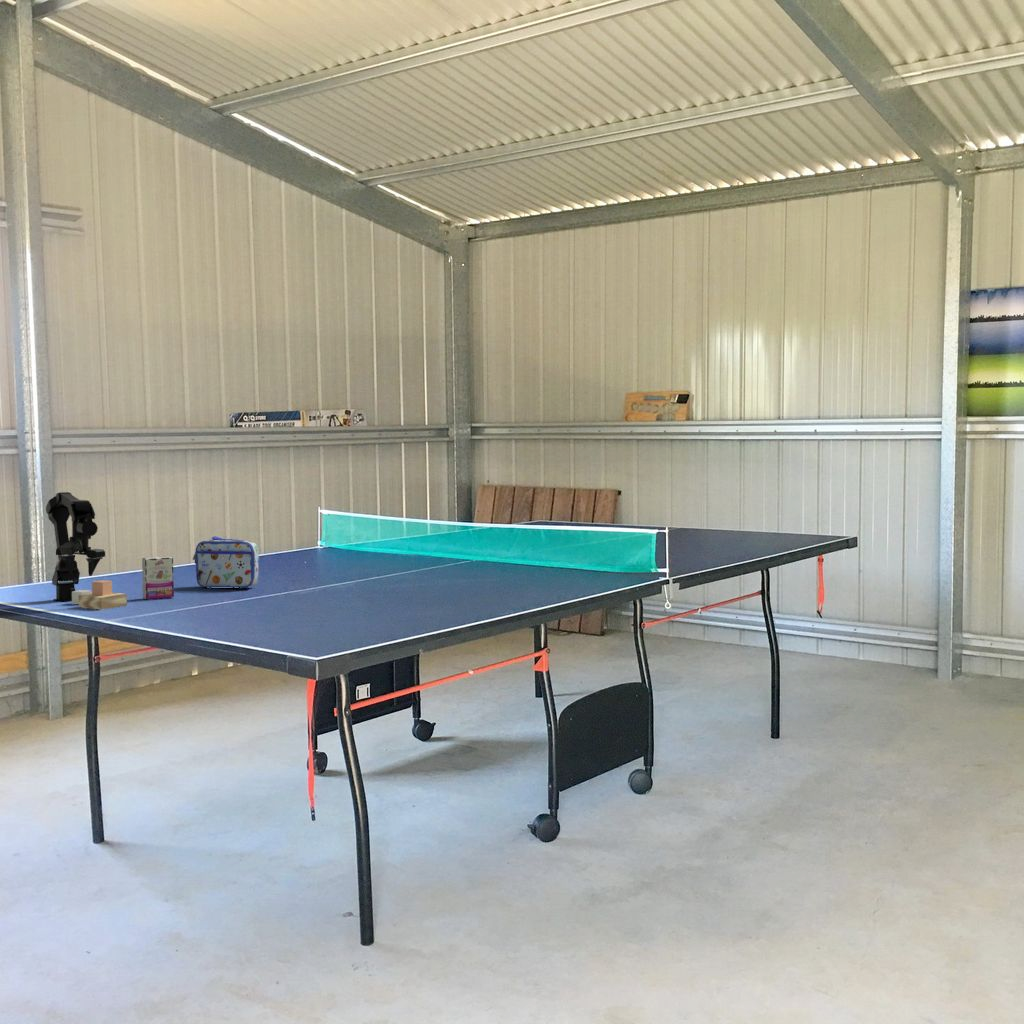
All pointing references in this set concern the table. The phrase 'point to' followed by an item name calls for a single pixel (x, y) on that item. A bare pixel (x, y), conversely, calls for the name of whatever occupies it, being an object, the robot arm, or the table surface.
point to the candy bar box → (157, 577)
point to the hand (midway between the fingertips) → (80, 574)
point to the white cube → (76, 595)
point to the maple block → (102, 601)
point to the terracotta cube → (101, 587)
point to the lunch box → (226, 563)
